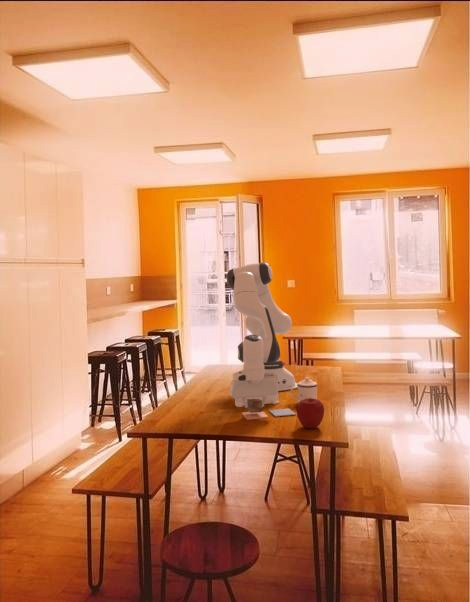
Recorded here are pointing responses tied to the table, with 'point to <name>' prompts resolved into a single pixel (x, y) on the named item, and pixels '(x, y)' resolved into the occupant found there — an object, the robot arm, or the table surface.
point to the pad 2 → (282, 412)
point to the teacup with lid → (306, 390)
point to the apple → (310, 412)
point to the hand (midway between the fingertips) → (254, 407)
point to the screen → (270, 399)
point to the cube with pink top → (254, 405)
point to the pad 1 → (254, 415)
